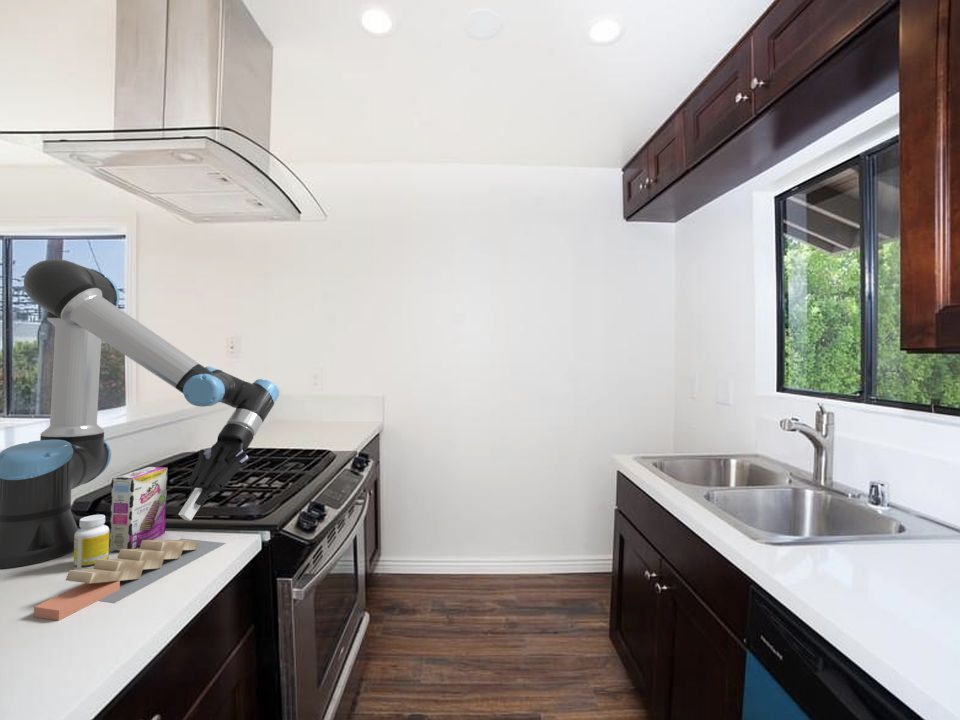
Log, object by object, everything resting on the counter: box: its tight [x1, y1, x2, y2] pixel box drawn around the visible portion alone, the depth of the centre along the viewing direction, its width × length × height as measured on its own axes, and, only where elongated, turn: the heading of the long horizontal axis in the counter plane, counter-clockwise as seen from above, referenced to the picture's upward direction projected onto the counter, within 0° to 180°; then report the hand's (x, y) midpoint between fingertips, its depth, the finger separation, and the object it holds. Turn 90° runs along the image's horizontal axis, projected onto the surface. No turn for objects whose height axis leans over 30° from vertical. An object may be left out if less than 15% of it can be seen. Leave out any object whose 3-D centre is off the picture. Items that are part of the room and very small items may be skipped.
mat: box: [58, 537, 227, 604], centre depth 91 cm, size 26×12×1 cm, turn 170°
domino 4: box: [117, 548, 182, 561], centre depth 90 cm, size 2×5×10 cm
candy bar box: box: [109, 466, 169, 553], centre depth 102 cm, size 11×5×16 cm, turn 0°
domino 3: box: [93, 557, 163, 571], centre depth 86 cm, size 2×5×10 cm
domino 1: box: [33, 581, 120, 621], centre depth 77 cm, size 2×5×10 cm
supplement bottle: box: [73, 514, 110, 570], centre depth 91 cm, size 5×5×10 cm
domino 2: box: [65, 569, 142, 584], centre depth 81 cm, size 2×5×10 cm
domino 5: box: [138, 539, 199, 551], centre depth 95 cm, size 2×5×10 cm
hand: (184, 517), depth 98 cm, fingers closed
